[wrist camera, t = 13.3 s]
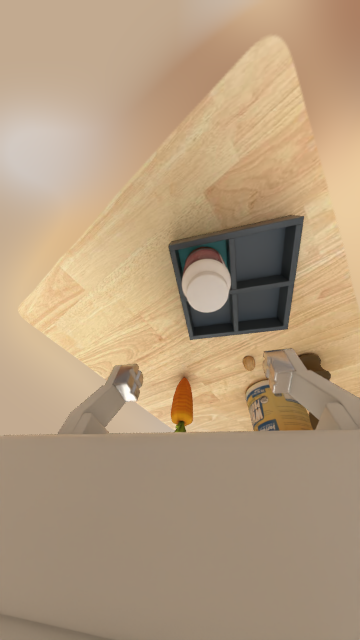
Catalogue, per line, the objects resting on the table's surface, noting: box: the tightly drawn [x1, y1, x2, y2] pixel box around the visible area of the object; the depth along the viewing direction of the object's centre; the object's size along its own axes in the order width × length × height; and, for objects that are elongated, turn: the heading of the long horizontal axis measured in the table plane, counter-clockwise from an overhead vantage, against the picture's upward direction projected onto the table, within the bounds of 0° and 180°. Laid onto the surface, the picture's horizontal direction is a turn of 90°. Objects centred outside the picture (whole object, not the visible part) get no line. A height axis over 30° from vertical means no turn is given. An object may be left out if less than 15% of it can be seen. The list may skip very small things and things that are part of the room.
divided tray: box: [169, 215, 304, 340], centre depth 29 cm, size 17×17×4 cm
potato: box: [243, 356, 255, 371], centre depth 40 cm, size 3×4×2 cm, turn 16°
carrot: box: [171, 377, 193, 432], centre depth 39 cm, size 5×5×15 cm
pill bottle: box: [182, 247, 231, 313], centre depth 24 cm, size 6×6×11 cm
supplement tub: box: [246, 380, 313, 431], centre depth 39 cm, size 12×12×17 cm
